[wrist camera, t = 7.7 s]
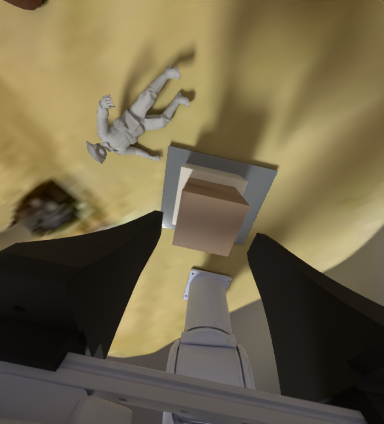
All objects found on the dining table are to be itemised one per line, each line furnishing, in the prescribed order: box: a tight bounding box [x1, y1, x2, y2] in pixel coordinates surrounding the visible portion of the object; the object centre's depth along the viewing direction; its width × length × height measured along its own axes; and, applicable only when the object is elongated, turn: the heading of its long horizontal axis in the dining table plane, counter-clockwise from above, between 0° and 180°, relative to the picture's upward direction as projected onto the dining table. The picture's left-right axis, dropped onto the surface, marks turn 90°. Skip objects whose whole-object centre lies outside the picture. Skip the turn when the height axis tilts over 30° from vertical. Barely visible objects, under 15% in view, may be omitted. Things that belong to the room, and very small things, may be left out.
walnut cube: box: [172, 177, 250, 257], centre depth 13 cm, size 5×5×5 cm
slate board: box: [161, 146, 278, 245], centre depth 20 cm, size 12×14×1 cm
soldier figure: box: [86, 65, 190, 164], centre depth 15 cm, size 8×5×12 cm
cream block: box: [172, 163, 248, 225], centre depth 17 cm, size 7×7×4 cm
